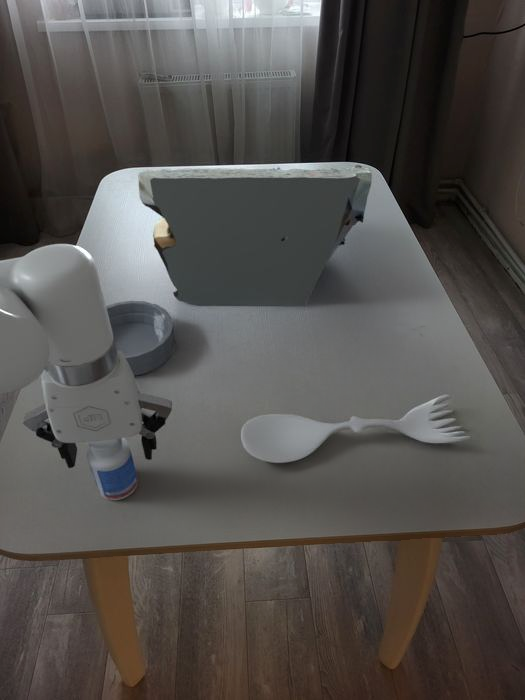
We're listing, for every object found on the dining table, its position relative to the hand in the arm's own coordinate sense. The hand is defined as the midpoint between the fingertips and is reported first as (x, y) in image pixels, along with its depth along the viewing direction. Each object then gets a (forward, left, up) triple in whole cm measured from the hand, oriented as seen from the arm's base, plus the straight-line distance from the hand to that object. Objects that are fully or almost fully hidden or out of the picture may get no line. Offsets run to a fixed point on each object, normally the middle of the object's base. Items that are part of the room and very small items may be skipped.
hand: (111, 454), depth 71 cm
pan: (+12, +26, -6) cm, 29 cm away
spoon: (+32, -10, -6) cm, 34 cm away
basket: (+44, +36, -6) cm, 57 cm away
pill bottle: (0, 0, -6) cm, 6 cm away
